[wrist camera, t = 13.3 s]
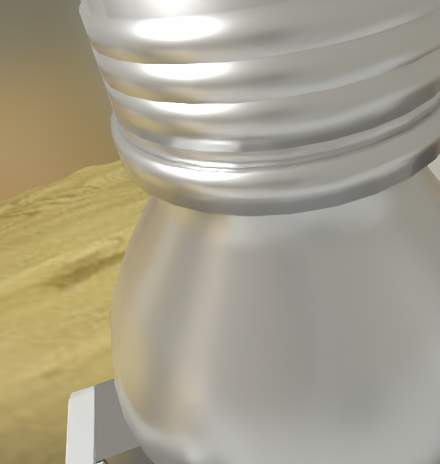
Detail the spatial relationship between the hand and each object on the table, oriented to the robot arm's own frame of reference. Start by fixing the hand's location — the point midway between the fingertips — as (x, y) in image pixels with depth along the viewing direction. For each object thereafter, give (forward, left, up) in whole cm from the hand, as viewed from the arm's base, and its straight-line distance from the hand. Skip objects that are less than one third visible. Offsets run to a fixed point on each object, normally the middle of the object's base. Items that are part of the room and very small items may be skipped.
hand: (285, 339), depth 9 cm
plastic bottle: (0, 0, -13) cm, 13 cm away
